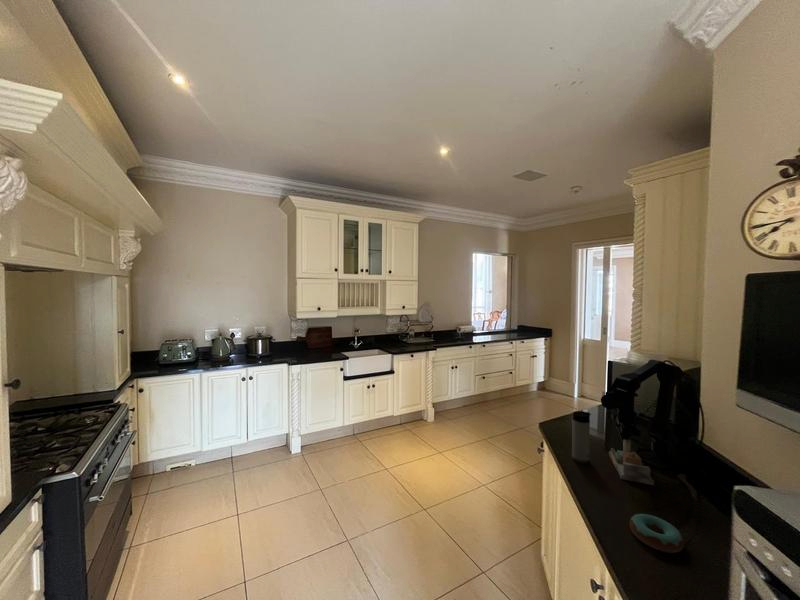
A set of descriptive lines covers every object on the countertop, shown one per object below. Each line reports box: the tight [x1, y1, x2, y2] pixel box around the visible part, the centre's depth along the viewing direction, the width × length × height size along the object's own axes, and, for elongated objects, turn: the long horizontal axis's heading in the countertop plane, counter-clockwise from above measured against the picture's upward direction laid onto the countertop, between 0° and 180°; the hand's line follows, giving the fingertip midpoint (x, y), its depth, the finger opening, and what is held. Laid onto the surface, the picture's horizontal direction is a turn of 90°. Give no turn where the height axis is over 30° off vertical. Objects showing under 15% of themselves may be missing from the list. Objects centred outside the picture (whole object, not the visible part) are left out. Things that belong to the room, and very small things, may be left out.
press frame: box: [608, 447, 655, 486], centre depth 124 cm, size 10×20×6 cm, turn 157°
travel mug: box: [571, 410, 592, 464], centre depth 130 cm, size 6×7×20 cm
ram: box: [616, 439, 633, 463], centre depth 126 cm, size 6×5×8 cm
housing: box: [621, 450, 643, 465], centre depth 121 cm, size 5×5×5 cm
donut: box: [629, 513, 685, 554], centre depth 88 cm, size 12×12×4 cm
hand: (624, 443), depth 130 cm, fingers closed
